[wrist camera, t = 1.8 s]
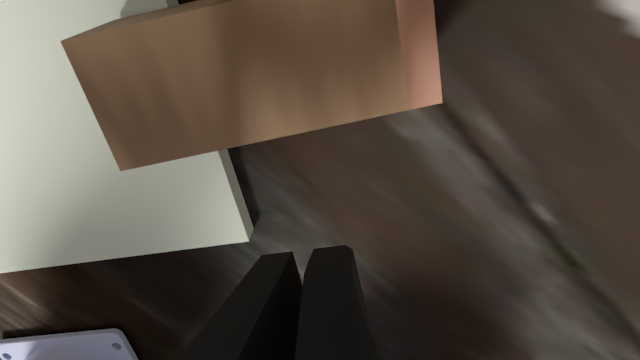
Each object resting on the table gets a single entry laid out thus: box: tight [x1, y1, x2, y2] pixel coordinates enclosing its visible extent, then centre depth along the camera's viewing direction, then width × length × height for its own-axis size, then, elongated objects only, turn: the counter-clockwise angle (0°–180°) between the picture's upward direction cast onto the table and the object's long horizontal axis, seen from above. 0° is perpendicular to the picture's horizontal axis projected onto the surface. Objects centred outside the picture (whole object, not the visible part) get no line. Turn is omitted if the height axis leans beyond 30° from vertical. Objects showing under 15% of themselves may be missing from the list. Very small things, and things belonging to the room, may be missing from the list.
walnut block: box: [60, 0, 443, 171], centre depth 15 cm, size 4×4×10 cm
